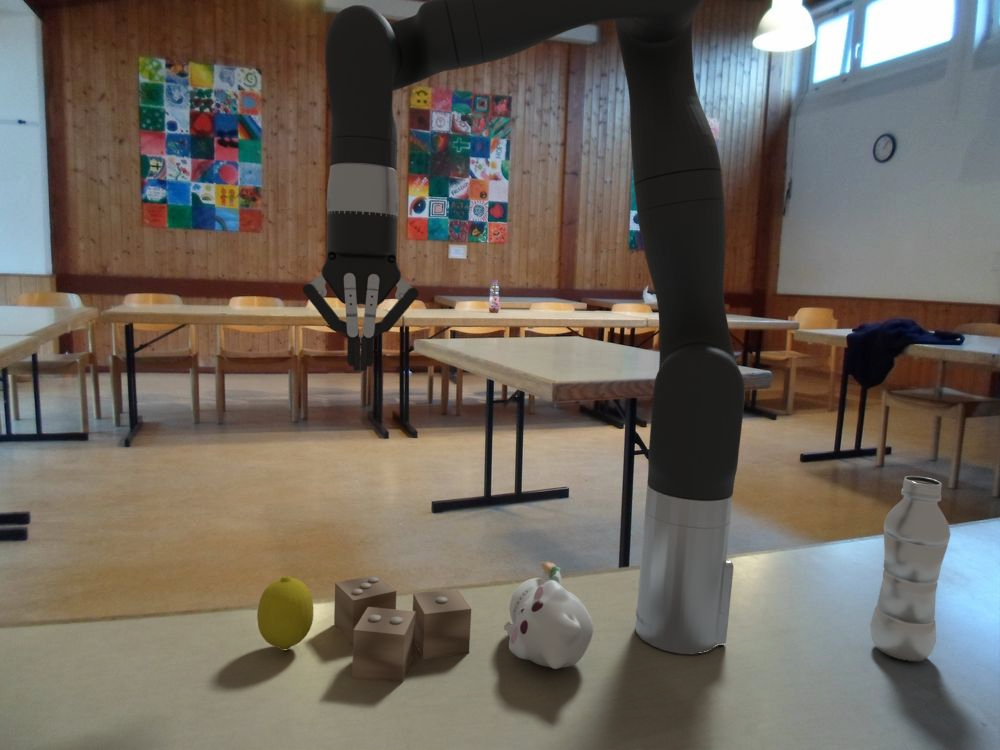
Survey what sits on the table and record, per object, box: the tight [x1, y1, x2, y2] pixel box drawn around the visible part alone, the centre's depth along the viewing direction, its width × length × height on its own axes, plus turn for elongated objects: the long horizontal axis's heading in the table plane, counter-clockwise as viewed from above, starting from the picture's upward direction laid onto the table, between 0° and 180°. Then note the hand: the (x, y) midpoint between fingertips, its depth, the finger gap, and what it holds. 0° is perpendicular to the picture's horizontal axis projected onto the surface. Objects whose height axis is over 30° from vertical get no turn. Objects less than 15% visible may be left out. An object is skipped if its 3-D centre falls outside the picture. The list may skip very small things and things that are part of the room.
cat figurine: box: [503, 561, 594, 670], centre depth 76 cm, size 10×8×15 cm
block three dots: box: [333, 573, 397, 645], centre depth 80 cm, size 5×5×5 cm
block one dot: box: [412, 588, 472, 660], centre depth 77 cm, size 5×5×5 cm
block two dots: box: [351, 607, 416, 684], centre depth 72 cm, size 5×5×5 cm
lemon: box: [256, 575, 314, 650], centre depth 74 cm, size 6×6×8 cm
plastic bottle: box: [869, 475, 951, 662], centre depth 80 cm, size 6×7×20 cm
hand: (359, 370), depth 80 cm, fingers closed
